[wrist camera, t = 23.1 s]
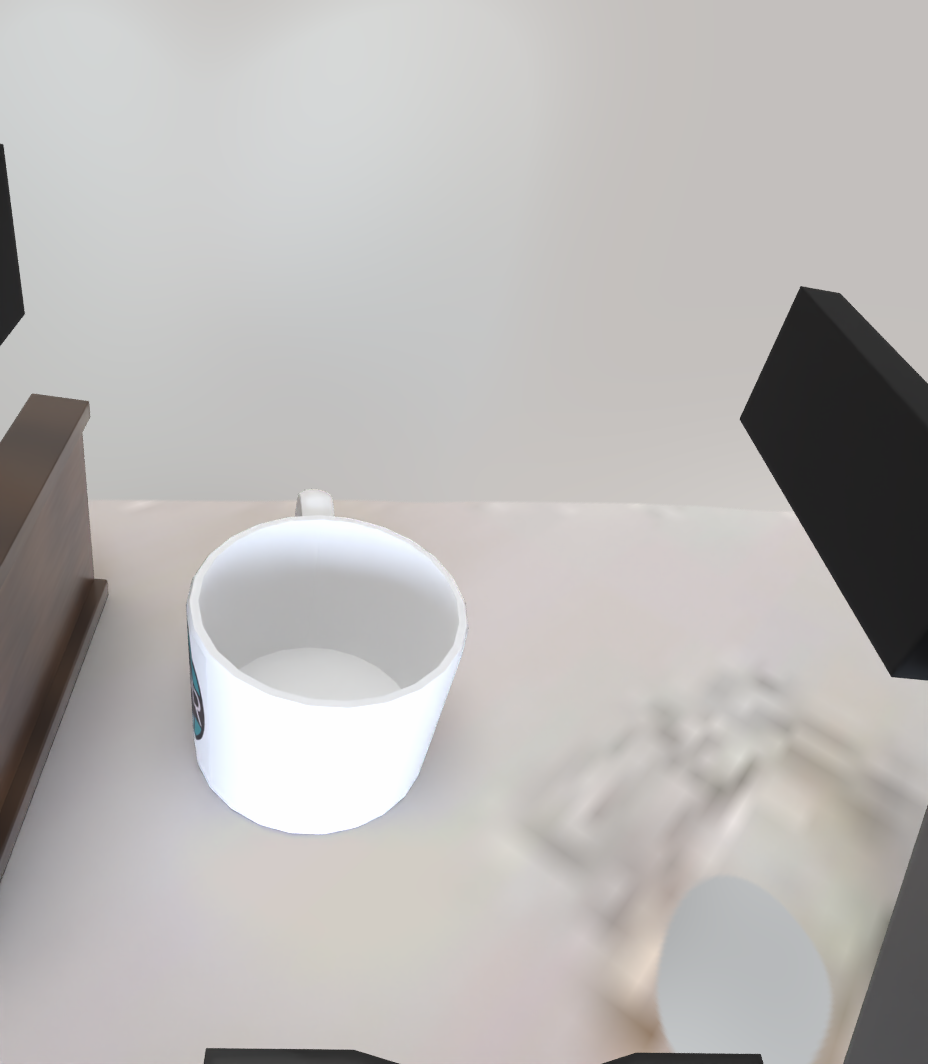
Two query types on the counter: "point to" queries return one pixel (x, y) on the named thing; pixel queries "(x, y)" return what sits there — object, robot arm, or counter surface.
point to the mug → (319, 667)
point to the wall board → (41, 592)
